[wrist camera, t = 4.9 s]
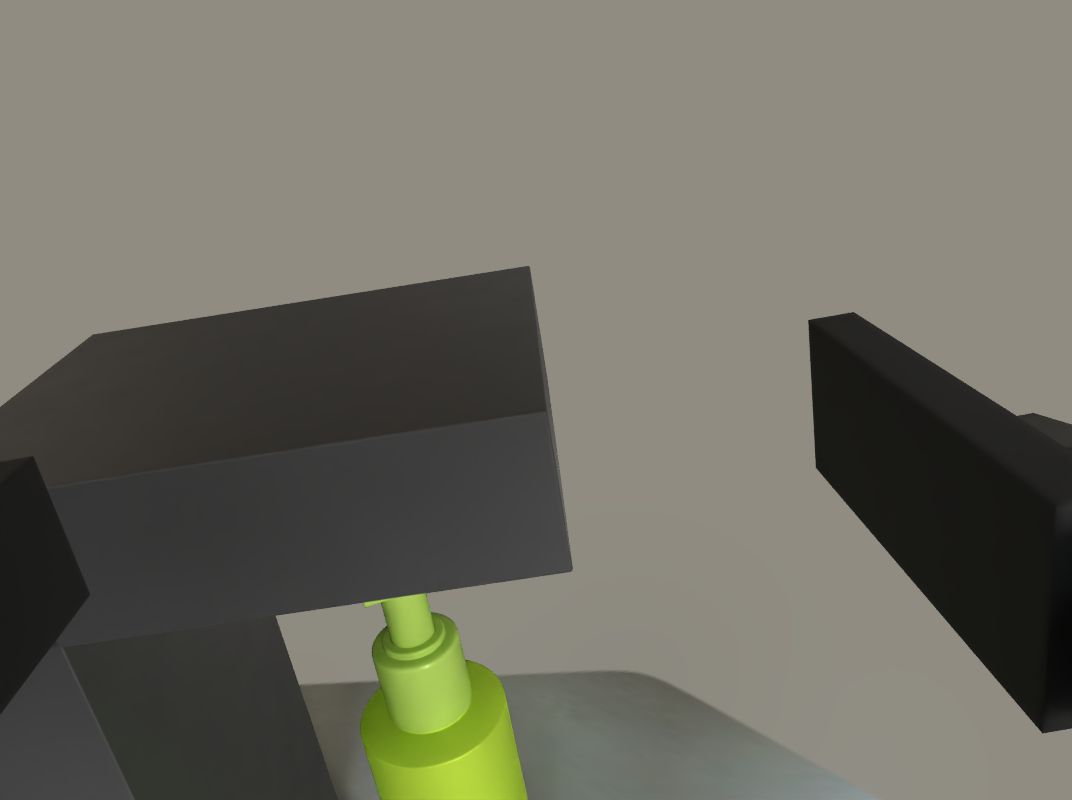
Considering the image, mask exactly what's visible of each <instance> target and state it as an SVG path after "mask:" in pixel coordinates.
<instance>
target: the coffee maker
mask: <svg viewBox="0 0 1072 800" xmlns="http://www.w3.org/2000/svg"><path fill="white" fill-rule="evenodd" d="M30 456H34V459H35V461H36V464H37V466H38V469H39V471H40V473H41V476H42V478H43V481H44V483H45V486H46V488H47V490H48V493H49V495H50V498H51V500H52V503H53V505H54V507H55V510H56V512H57V515H58V517H59V520H60V522H61V524H62V527H63V529H64V532H65V534H66V537H67V539H68V541H69V544H70V546H71V549H72V551H73V554H74V556H75V558H76V561H77V563H78V566H79V568H80V571H81V573H82V575H83V578H84V580H85V583H86V585H87V588H88V590H89V592H90V596H89V597H88V598H87V600H86V601H85V602H84V604H83V605H82V606H81V608H80V609H79V610H78V612H77V613H76V614H75V616H74V617H73V618H72V620H71V621H70V622H69V624H68V625H67V626H66V628H65V629H64V630H63V632H62V633H61V634H60V636H59V637H58V638H57V640H56V641H55V642H54V644H53V645H52V646H51V648H50V649H49V650H48V652H47V653H46V654H45V656H44V657H43V658H42V660H41V661H40V662H39V664H38V665H37V666H36V668H35V669H34V670H33V672H32V673H31V674H30V676H29V677H28V678H27V680H26V681H25V682H24V684H23V685H22V686H21V688H20V689H19V690H18V692H17V693H16V694H15V696H14V697H13V698H12V700H11V701H10V702H9V704H8V705H7V706H6V708H5V709H4V710H3V712H2V713H1V714H0V800H338V799H337V796H336V793H335V790H334V787H333V784H332V781H331V778H330V775H329V772H328V769H327V766H326V764H325V761H324V758H323V755H322V752H321V749H320V746H319V743H318V740H317V737H316V734H315V731H314V728H313V725H312V722H311V719H310V716H309V713H308V710H307V708H306V705H305V702H304V699H303V696H302V693H301V690H300V687H299V684H298V681H297V678H296V675H295V672H294V669H293V666H292V663H291V660H290V658H289V654H288V651H287V649H286V646H285V643H284V640H283V637H282V634H281V631H280V628H279V625H278V622H277V619H276V615H283V614H289V613H296V612H303V611H310V610H316V609H323V608H330V607H336V606H343V605H350V604H357V603H364V602H370V601H377V600H384V599H390V598H397V597H404V596H411V595H417V594H424V593H430V592H437V591H444V590H451V589H458V588H464V587H471V586H478V585H485V584H491V583H498V582H505V581H511V580H518V579H524V578H531V577H538V576H545V575H551V574H559V573H565V572H571V571H572V569H573V567H572V561H571V553H570V545H569V538H568V531H567V523H566V515H565V508H564V500H563V493H562V485H561V478H560V470H559V462H558V455H557V448H556V440H555V433H554V426H553V418H552V410H551V403H550V395H549V388H548V380H547V374H546V368H545V361H544V354H543V348H542V342H541V335H540V329H539V323H538V316H537V310H536V304H535V297H534V291H533V285H532V279H531V272H530V267H529V266H525V267H519V268H513V269H507V270H500V271H494V272H488V273H481V274H475V275H468V276H462V277H455V278H449V279H443V280H436V281H430V282H424V283H417V284H411V285H405V286H399V287H392V288H386V289H379V290H373V291H367V292H360V293H354V294H348V295H341V296H335V297H329V298H322V299H317V300H310V301H303V302H298V303H291V304H284V305H278V306H272V307H265V308H260V309H253V310H246V311H240V312H234V313H228V314H221V315H215V316H209V317H202V318H196V319H189V320H183V321H177V322H170V323H164V324H158V325H151V326H145V327H139V328H132V329H126V330H120V331H113V332H107V333H101V334H94V335H92V336H91V337H89V338H88V339H87V340H85V341H84V342H83V343H82V344H80V345H79V346H78V347H76V348H75V349H74V350H73V351H71V352H70V353H69V354H67V356H65V357H64V358H62V359H61V360H60V361H59V362H57V363H56V364H55V365H53V366H52V367H51V368H50V369H48V370H47V371H46V372H44V373H43V374H42V375H41V376H39V377H38V378H37V379H36V380H35V381H33V382H32V383H30V384H29V385H28V386H27V387H25V388H24V389H23V390H22V391H20V392H19V393H18V394H16V395H15V396H14V397H12V398H11V399H10V400H9V401H7V402H6V403H5V404H4V405H2V406H1V407H0V462H1V461H7V460H13V459H18V458H24V457H30Z"/></svg>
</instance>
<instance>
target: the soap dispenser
mask: <svg viewBox="0 0 1072 800" xmlns="http://www.w3.org/2000/svg"><path fill="white" fill-rule="evenodd" d="M378 603H381V605H382V608H383V612H384V616H385V619H386V623H387V626H386V627H385V628H384V629H383V630H382V631H381V632H380V633H379V634H378V636H377V637H376V639H375V641H374V643H373V646H372V657H373V661H374V665H375V668H376V671H377V675H378V678H379V682H380V685H381V687H380V688H379V689H378V690H377V691H376V692H375V694H374V695H373V696H372V697H371V699H370V700H369V702H368V703H367V705H366V707H365V709H364V712H363V715H362V718H361V724H360V732H361V738H362V742H363V745H364V748H365V751H366V754H367V757H368V761H369V764H370V767H371V770H372V773H373V777H374V780H375V783H376V786H377V789H378V793H379V796H380V799H381V800H528V798H527V794H526V789H525V784H524V780H523V775H522V770H521V766H520V761H519V757H518V752H517V747H516V743H515V738H514V733H513V729H512V724H511V720H510V715H509V710H508V706H507V701H506V696H505V692H504V688H503V686H502V684H501V682H500V680H499V679H498V677H497V676H496V675H495V674H494V673H493V672H492V671H491V670H489V669H488V668H486V667H485V666H483V665H480V664H478V663H475V662H472V661H469V660H465V658H464V654H463V650H462V646H461V641H460V637H459V633H458V629H457V627H456V625H455V623H454V622H453V621H452V620H451V619H450V618H448V617H446V616H444V615H442V614H438V613H433V612H431V611H430V607H429V603H428V599H427V595H426V593H424V594H417V595H411V596H404V597H397V598H390V599H384V600H377V601H370V602H364V607H368V606H371V605H375V604H378Z"/></svg>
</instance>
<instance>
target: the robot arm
mask: <svg viewBox="0 0 1072 800" xmlns="http://www.w3.org/2000/svg"><path fill="white" fill-rule="evenodd" d="M808 323H809V342H810V361H811V379H812V400H813V418H814V437H815V458H816V468H817V469H818V471H819V472H820V473H821V474H822V475H823V477H824V478H825V479H826V480H827V481H828V482H829V484H830V485H831V486H832V487H833V488H834V489H835V491H836V492H837V493H838V494H839V495H840V496H841V498H842V499H843V500H844V501H845V502H846V504H847V505H848V506H849V507H850V508H851V509H852V510H853V512H854V513H855V514H856V515H857V516H858V518H859V519H860V520H861V521H862V522H863V523H864V524H865V526H866V527H867V528H868V529H869V530H870V532H871V533H872V534H873V535H874V536H875V537H876V539H877V540H878V541H879V542H880V543H881V545H882V546H883V547H884V548H885V549H886V550H887V551H888V553H889V554H890V555H891V556H892V557H893V559H894V560H895V561H896V562H897V563H898V564H899V566H900V567H901V568H902V569H903V570H904V572H905V573H906V574H907V575H908V576H909V577H910V578H911V580H912V581H913V582H914V583H915V584H916V586H917V587H918V588H919V589H920V590H921V591H922V593H923V594H924V595H925V596H926V597H927V598H928V600H929V601H930V602H931V603H932V604H933V605H934V607H935V608H936V609H937V610H938V611H939V613H940V614H941V615H942V616H943V617H944V618H945V620H946V621H947V622H948V623H949V624H950V625H951V627H952V628H953V629H954V630H955V631H956V632H957V634H958V635H959V636H960V637H961V638H962V639H963V641H964V642H965V643H966V644H967V645H968V647H969V648H970V649H971V650H972V651H973V652H974V654H975V655H976V656H977V657H978V658H979V659H980V660H981V662H982V663H983V664H984V665H985V666H986V668H987V669H988V670H989V671H990V672H991V673H992V675H993V676H994V677H995V678H996V679H997V680H998V682H999V683H1000V684H1001V685H1002V686H1003V688H1004V689H1005V690H1006V691H1007V692H1008V693H1009V694H1010V696H1011V697H1012V698H1013V699H1014V700H1015V701H1016V703H1017V704H1018V705H1019V706H1020V707H1021V709H1022V710H1023V711H1024V712H1025V713H1026V715H1027V716H1028V717H1029V718H1030V719H1031V720H1032V721H1033V723H1034V724H1035V725H1036V726H1037V727H1038V728H1039V730H1040V731H1041V732H1042V733H1047V732H1053V731H1058V730H1065V729H1071V728H1072V425H1071V424H1068V423H1065V422H1062V421H1058V420H1054V419H1051V418H1048V417H1045V416H1041V415H1038V414H1035V413H1031V414H1026V415H1020V416H1016V415H1014V414H1013V413H1011V412H1010V411H1008V410H1006V409H1005V408H1003V407H1002V406H1000V405H999V404H997V403H995V402H994V401H992V400H991V399H989V398H988V397H986V396H984V395H983V394H981V393H980V392H978V391H976V390H975V389H973V388H972V387H970V386H969V385H967V384H966V383H964V382H962V381H961V380H959V379H958V378H956V377H954V376H953V375H951V374H950V373H948V372H947V371H945V370H944V369H942V368H941V367H939V366H937V365H936V364H934V363H932V362H931V361H929V360H928V359H926V358H925V357H923V356H922V355H920V354H918V353H917V352H915V351H914V350H912V349H911V348H909V347H907V346H906V345H904V344H903V343H901V342H900V341H898V340H896V339H895V338H893V337H892V336H890V335H889V334H887V333H885V332H884V331H882V330H881V329H879V328H877V327H876V326H875V325H873V324H871V323H870V322H868V321H866V320H865V319H864V318H862V317H860V316H859V315H857V314H856V313H854V312H852V313H847V314H841V315H835V316H829V317H824V318H818V319H812V320H808ZM89 596H90V592H89V590H88V588H87V585H86V583H85V580H84V578H83V575H82V573H81V571H80V568H79V566H78V563H77V561H76V558H75V556H74V554H73V551H72V549H71V546H70V544H69V541H68V539H67V537H66V534H65V532H64V529H63V527H62V524H61V522H60V520H59V517H58V515H57V512H56V510H55V507H54V505H53V503H52V500H51V498H50V495H49V493H48V490H47V488H46V486H45V483H44V481H43V478H42V476H41V473H40V471H39V469H38V466H37V464H36V461H35V459H34V456H30V457H24V458H18V459H13V460H7V461H1V462H0V714H1V713H2V712H3V710H4V709H5V708H6V706H7V705H8V704H9V702H10V701H11V700H12V698H13V697H14V696H15V694H16V693H17V692H18V690H19V689H20V688H21V686H22V685H23V684H24V682H25V681H26V680H27V678H28V677H29V676H30V674H31V673H32V672H33V670H34V669H35V668H36V666H37V665H38V664H39V662H40V661H41V660H42V658H43V657H44V656H45V654H46V653H47V652H48V650H49V649H50V648H51V646H52V645H53V644H54V642H55V641H56V640H57V638H58V637H59V636H60V634H61V633H62V632H63V630H64V629H65V628H66V626H67V625H68V624H69V622H70V621H71V620H72V618H73V617H74V616H75V614H76V613H77V612H78V610H79V609H80V608H81V606H82V605H83V604H84V602H85V601H86V600H87V598H88V597H89Z"/></svg>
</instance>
